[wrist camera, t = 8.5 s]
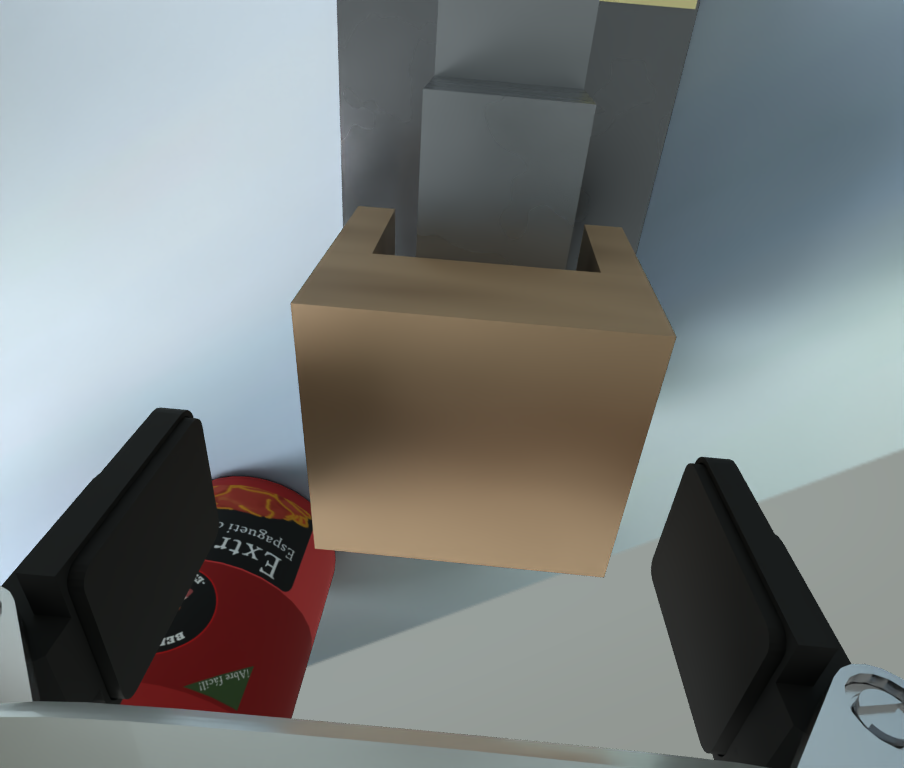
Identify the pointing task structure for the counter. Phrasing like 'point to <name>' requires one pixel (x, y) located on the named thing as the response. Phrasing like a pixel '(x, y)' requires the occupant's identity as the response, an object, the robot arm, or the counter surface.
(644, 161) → the notched rail
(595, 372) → the tan slotted wooden block
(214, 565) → the canned food
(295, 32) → the counter surface
